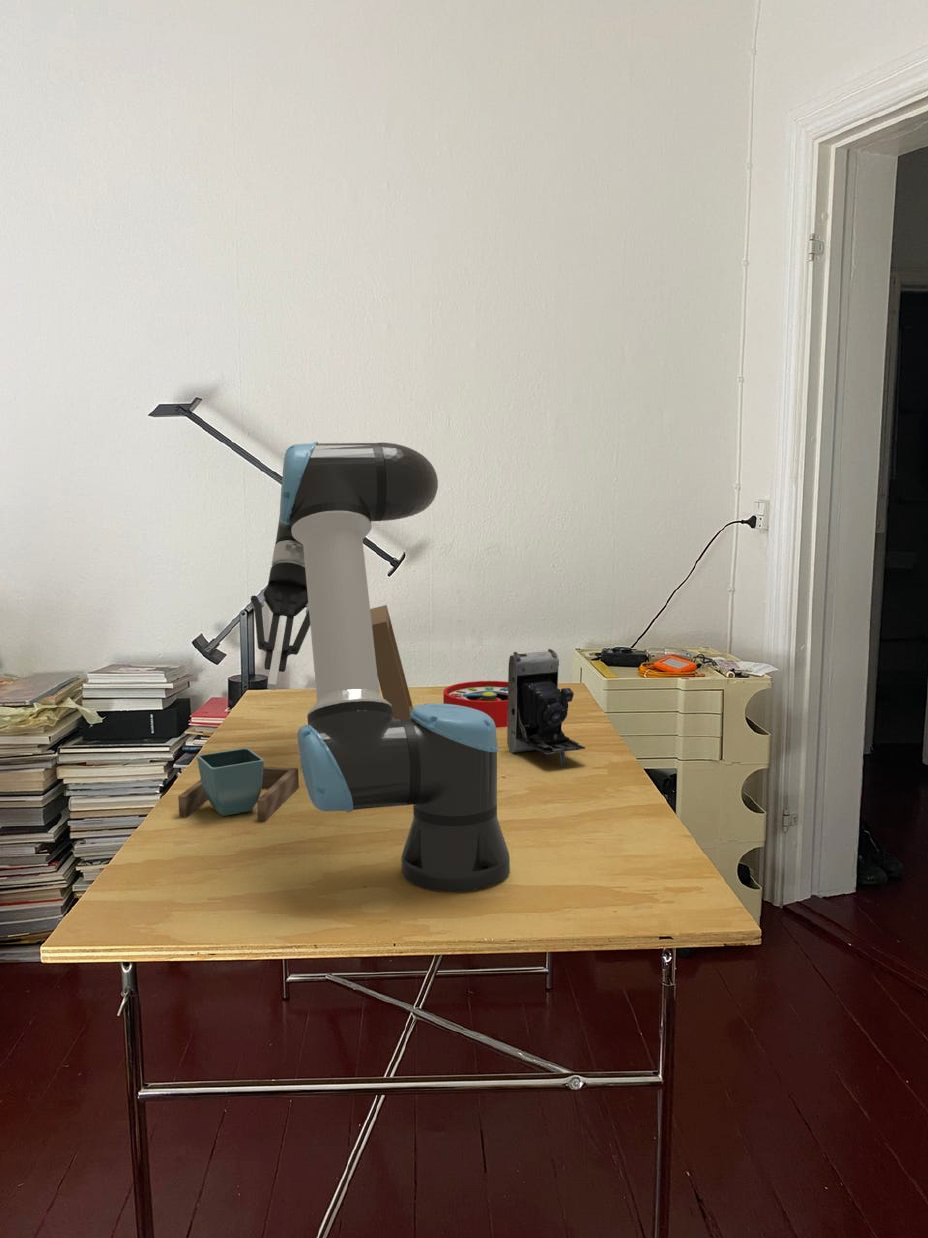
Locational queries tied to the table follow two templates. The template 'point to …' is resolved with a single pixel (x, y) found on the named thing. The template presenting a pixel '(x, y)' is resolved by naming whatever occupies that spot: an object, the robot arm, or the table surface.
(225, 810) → the flower pot
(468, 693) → the toy clock
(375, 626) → the photo frame
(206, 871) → the table surface
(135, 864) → the table surface
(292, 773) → the wooden tray rim
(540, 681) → the vintage camera
